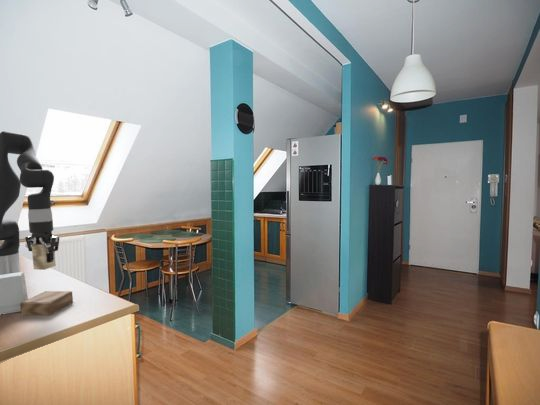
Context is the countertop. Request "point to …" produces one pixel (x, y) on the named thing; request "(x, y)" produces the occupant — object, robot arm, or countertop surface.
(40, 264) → the oak block
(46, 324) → the countertop surface
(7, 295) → the skincare box
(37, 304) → the walnut box
